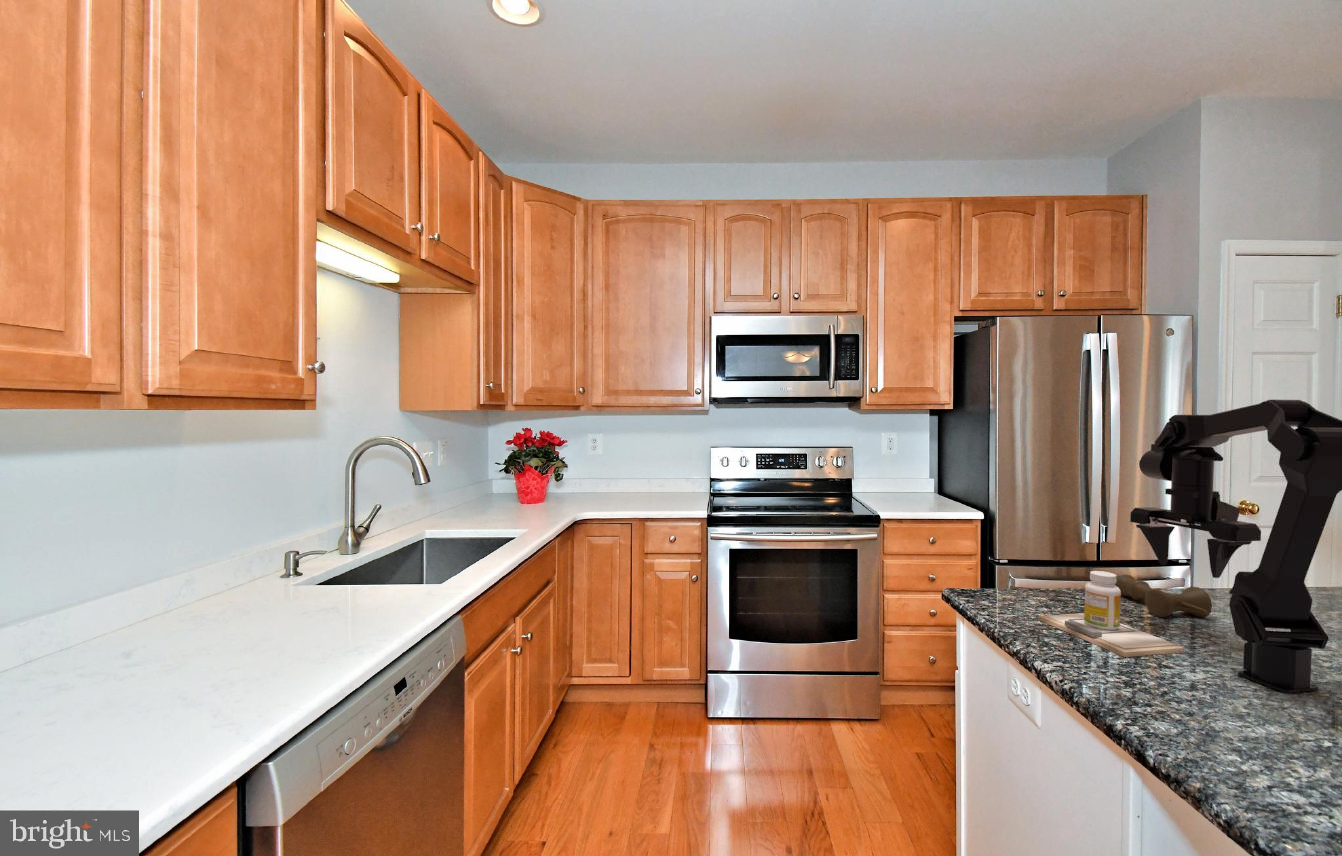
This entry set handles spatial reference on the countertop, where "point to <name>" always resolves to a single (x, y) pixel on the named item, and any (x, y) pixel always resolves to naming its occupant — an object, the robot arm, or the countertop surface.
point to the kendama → (1165, 598)
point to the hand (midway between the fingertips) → (1188, 570)
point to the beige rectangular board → (1113, 636)
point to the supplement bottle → (1102, 601)
